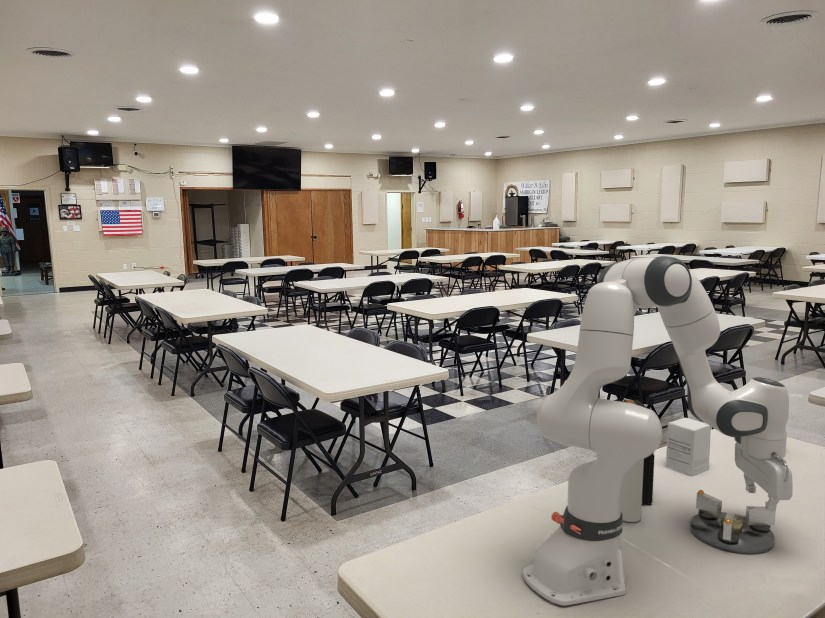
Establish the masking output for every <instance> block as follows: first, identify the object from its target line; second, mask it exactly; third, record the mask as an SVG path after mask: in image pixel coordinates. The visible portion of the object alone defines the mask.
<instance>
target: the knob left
mask: <svg viewBox="0 0 825 618" xmlns="http://www.w3.org/2000/svg"><path fill="white" fill-rule="evenodd" d="M695 500H696V501H695V508H696V509H698V513H697V514H698V515H699V517H700V518H702V519H705V520H709V521H715V520H717V519H718V517H720V516H721V512H723V511H722V510H723V509H722V508H723V500H721V499H719V498H716V497H715V496H713V495H710V494H708V493H706V492H705V491H704V490H702V489H698V490H697V492H696V499H695Z"/></svg>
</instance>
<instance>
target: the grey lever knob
mask: <svg viewBox="0 0 825 618" xmlns="http://www.w3.org/2000/svg"><path fill="white" fill-rule="evenodd" d="M776 511H777V510H776ZM776 511H774V512H770V511H768V510H767V509H766V508H765V506H761V505H760V506H759V505H758V506H755V505H754V506H752V505H750V506H749V505H746V508H745V517H746V520H745V522H746V523H747V524H748V525H749V528H750V529H752V530H753V531H756V532H759V533H768V532H770V530H771V526H772V527H774V526H776V525H775V524H776V515H777V514H776V513H777V512H776Z"/></svg>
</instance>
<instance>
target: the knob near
mask: <svg viewBox="0 0 825 618" xmlns="http://www.w3.org/2000/svg"><path fill="white" fill-rule="evenodd" d="M726 513H727V515H726V518H725V521H724V528H723V530H719V531H718V539H719V540H720V541H722V542H724V543H728V544H737V543H738V542H739V535H738V534H737V533H735V532H733V531H734V522H735V514H736V513H734V512H733V513H732V512H729V511H728V512H726Z"/></svg>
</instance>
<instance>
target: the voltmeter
mask: <svg viewBox="0 0 825 618" xmlns="http://www.w3.org/2000/svg"><path fill="white" fill-rule="evenodd" d="M619 401H620V402H627V403H632V404H635V405H638V406H642V407H644V408H647V407H646V406H645V405H644V404H643V403H642V402H641V401H640V400H638V399H635V400H632V399H623V400H619ZM647 409H649V408H647ZM654 472H655V452H654V453H652V454H651V455H650V456H648V457H646V458H644V464H643V486H642V504H647V505H649V506H651V505H652V504H653V496H654V477H655V475H654Z"/></svg>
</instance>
